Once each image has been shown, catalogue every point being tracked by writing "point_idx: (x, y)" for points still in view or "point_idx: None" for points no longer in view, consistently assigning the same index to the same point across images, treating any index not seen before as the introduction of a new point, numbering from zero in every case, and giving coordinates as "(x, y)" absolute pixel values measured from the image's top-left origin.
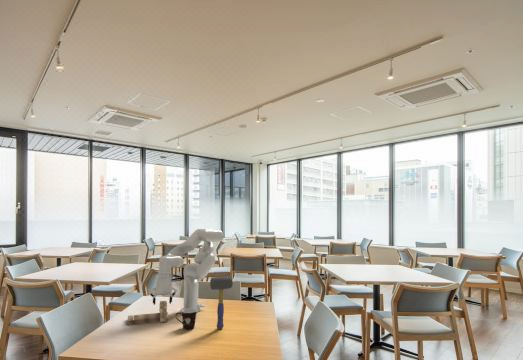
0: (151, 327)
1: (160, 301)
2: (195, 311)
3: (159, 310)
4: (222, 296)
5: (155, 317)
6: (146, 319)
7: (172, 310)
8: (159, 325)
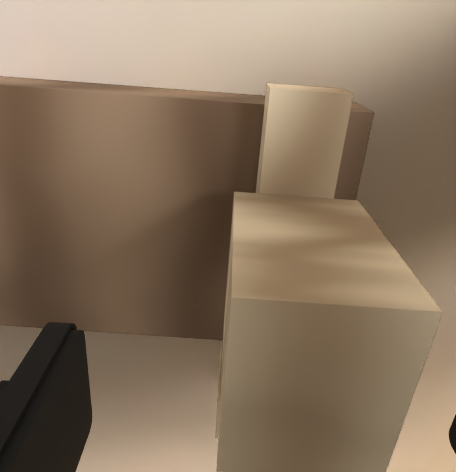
0: (117, 420)
1: (249, 324)
2: None
3: (231, 226)
4: None
5: (158, 317)
6: (40, 322)
7: None
8: (199, 401)
